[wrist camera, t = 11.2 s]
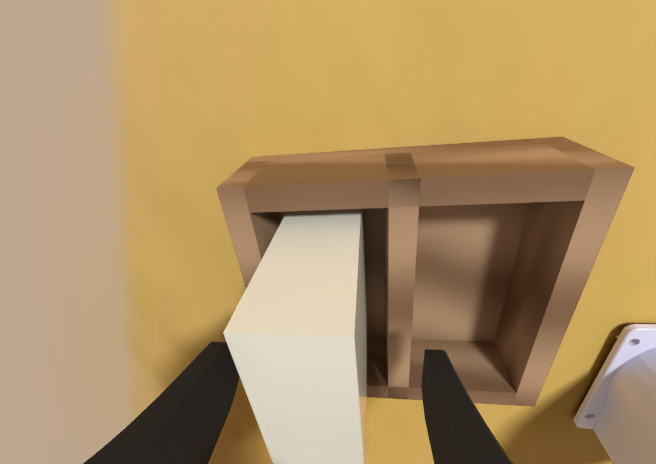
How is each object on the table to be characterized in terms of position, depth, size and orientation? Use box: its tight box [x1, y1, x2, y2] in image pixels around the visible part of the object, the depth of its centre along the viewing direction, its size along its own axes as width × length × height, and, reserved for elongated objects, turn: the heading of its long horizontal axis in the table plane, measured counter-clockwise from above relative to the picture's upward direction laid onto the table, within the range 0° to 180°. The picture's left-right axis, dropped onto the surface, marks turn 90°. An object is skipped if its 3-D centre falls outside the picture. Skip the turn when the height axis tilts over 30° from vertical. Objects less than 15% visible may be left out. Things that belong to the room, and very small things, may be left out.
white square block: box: [223, 209, 367, 464], centre depth 12 cm, size 8×3×8 cm, turn 6°
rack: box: [216, 137, 634, 406], centre depth 14 cm, size 12×13×4 cm
